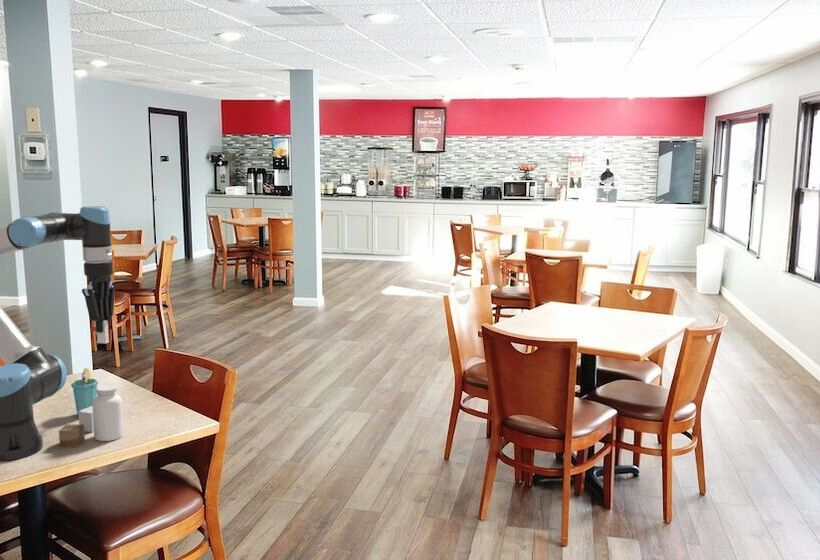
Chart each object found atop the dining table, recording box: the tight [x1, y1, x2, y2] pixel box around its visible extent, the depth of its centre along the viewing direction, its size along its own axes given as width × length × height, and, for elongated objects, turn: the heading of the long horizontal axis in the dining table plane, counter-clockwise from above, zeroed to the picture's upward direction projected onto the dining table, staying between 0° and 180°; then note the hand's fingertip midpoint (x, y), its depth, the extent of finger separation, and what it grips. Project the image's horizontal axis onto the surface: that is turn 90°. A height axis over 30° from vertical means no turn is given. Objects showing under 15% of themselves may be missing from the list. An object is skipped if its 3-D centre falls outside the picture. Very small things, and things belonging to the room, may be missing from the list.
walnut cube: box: [58, 423, 86, 448], centre depth 209 cm, size 5×5×5 cm
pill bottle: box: [92, 384, 124, 442], centre depth 214 cm, size 8×8×15 cm
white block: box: [78, 406, 94, 434], centre depth 221 cm, size 5×5×6 cm
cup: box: [70, 367, 99, 417], centre depth 232 cm, size 14×8×15 cm, turn 24°
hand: (103, 342), depth 210 cm, fingers closed
